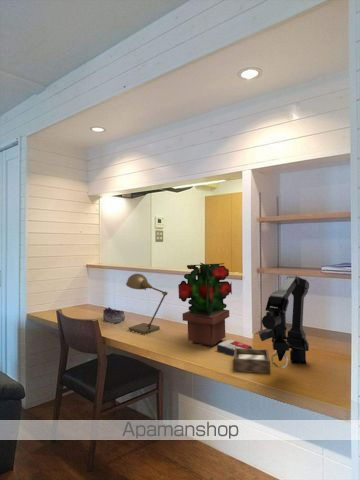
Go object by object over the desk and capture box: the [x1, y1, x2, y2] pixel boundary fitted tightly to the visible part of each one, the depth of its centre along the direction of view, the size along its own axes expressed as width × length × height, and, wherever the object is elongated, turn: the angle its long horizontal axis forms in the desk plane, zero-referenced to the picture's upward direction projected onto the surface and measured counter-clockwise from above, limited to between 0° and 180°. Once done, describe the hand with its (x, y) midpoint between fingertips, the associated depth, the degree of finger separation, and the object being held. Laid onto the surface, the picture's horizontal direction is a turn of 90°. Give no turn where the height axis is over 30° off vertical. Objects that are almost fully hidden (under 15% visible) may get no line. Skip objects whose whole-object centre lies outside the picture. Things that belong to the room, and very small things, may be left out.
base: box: [232, 348, 271, 374], centre depth 154 cm, size 16×14×6 cm
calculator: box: [216, 339, 253, 357], centre depth 173 cm, size 11×4×15 cm
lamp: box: [125, 273, 169, 336], centre depth 213 cm, size 15×34×37 cm, turn 49°
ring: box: [270, 350, 289, 370], centre depth 141 cm, size 7×3×8 cm, turn 58°
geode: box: [102, 306, 126, 324], centre depth 242 cm, size 20×12×10 cm, turn 54°
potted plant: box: [178, 262, 233, 348], centre depth 188 cm, size 22×22×45 cm
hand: (279, 359), depth 141 cm, fingers closed on ring, 3 cm apart
